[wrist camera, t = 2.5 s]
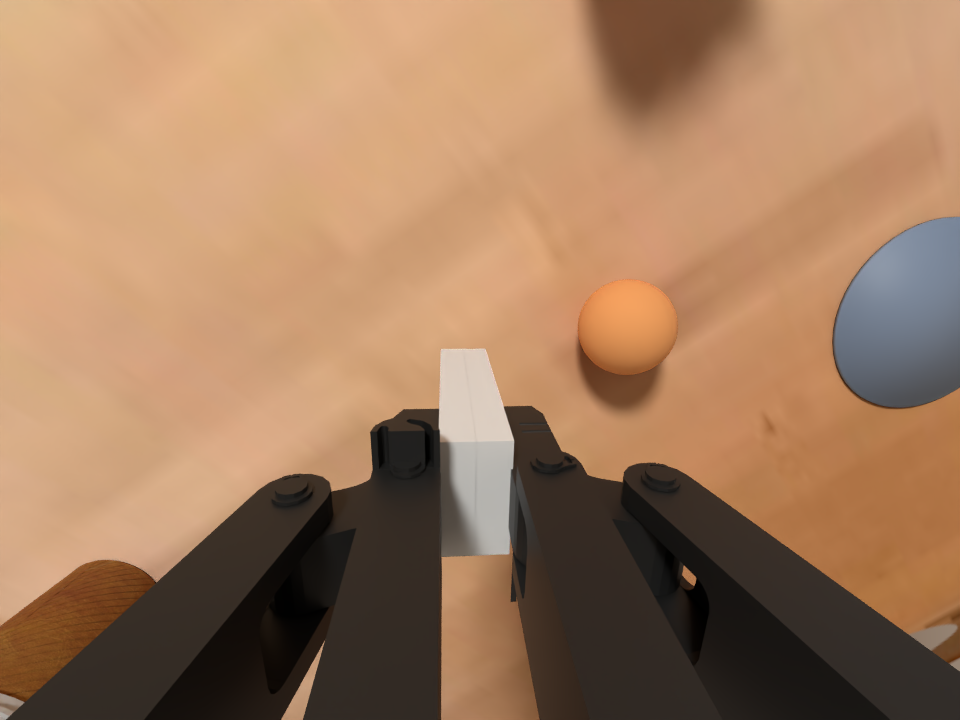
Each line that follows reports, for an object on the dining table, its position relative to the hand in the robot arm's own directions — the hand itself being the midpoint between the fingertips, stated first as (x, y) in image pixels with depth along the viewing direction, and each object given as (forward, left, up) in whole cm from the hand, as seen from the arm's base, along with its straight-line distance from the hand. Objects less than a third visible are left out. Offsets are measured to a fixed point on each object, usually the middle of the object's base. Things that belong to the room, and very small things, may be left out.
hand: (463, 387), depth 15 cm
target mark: (0, -32, -13) cm, 35 cm away
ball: (0, -10, -10) cm, 14 cm away
